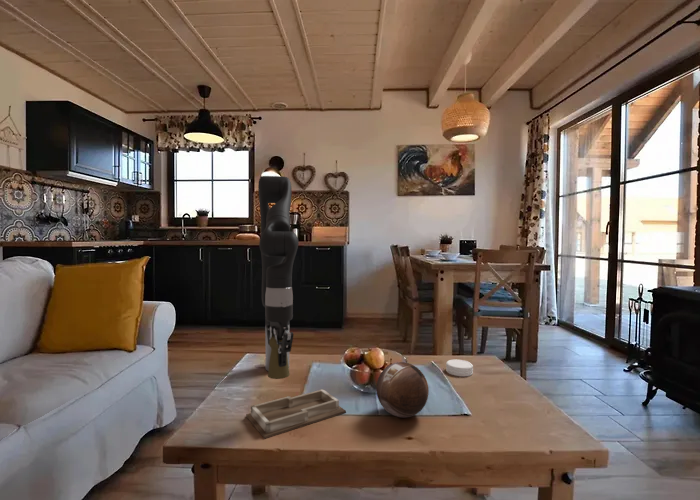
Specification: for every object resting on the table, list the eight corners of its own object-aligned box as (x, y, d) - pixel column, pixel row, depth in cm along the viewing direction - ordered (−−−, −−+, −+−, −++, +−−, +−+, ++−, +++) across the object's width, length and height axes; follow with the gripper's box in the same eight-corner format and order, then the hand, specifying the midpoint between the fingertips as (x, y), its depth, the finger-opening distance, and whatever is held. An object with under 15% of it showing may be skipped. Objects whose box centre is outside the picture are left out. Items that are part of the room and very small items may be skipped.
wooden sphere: (366, 416, 105) (366, 365, 104) (392, 398, 116) (393, 352, 116) (413, 433, 95) (413, 377, 95) (436, 412, 107) (437, 362, 107)
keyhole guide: (246, 416, 104) (246, 405, 104) (321, 395, 118) (321, 386, 118) (264, 438, 93) (264, 426, 92) (345, 412, 107) (345, 402, 107)
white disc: (476, 377, 136) (476, 368, 135) (449, 377, 136) (450, 367, 135) (467, 367, 146) (468, 359, 145) (443, 367, 146) (443, 358, 145)
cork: (263, 377, 100) (263, 337, 100) (275, 369, 106) (275, 332, 106) (282, 380, 98) (282, 340, 98) (293, 372, 104) (293, 334, 103)
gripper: (256, 300, 105) (257, 359, 106) (276, 308, 93) (276, 374, 94) (281, 298, 109) (281, 354, 110) (302, 305, 98) (302, 368, 98)
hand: (279, 363), depth 102 cm, fingers closed on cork, 4 cm apart
